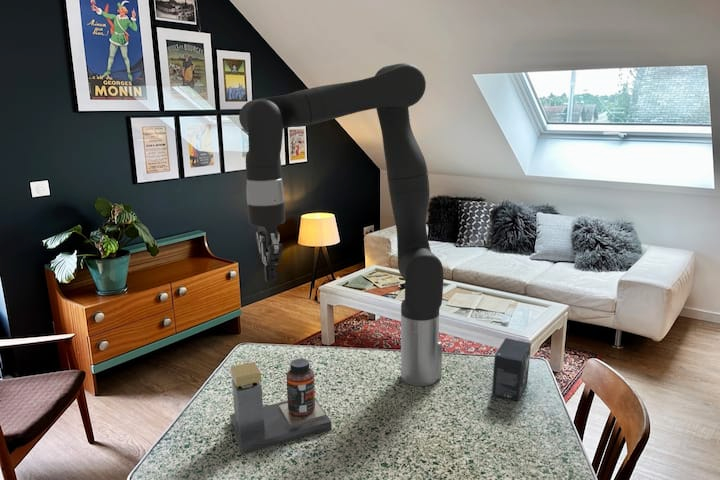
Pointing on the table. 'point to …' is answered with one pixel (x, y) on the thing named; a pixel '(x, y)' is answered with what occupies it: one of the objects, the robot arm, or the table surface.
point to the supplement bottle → (300, 388)
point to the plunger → (245, 375)
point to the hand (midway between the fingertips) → (270, 280)
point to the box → (511, 369)
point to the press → (270, 420)
